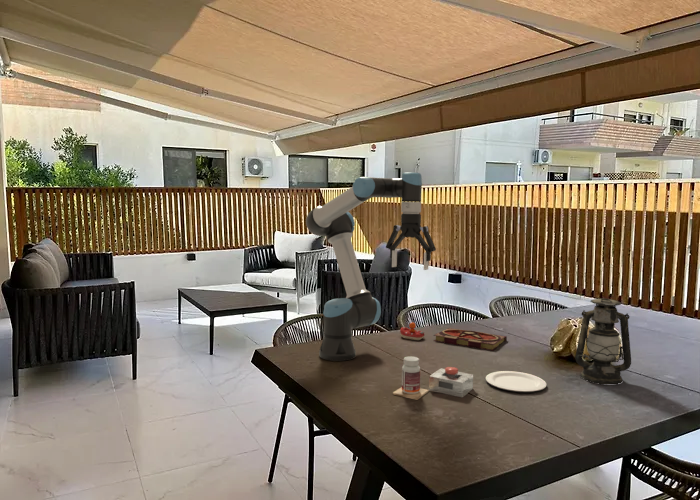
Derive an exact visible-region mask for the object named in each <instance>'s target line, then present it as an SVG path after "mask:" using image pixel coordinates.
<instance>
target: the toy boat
mask: <svg viewBox="0 0 700 500" xmlns="http://www.w3.org/2000/svg"><path fill="white" fill-rule="evenodd" d="M408 326H409V328H408V327H405V326H402V327H400V329H399V334H400V336H401V337H402V338H403V339H408V340H412V341H420V340H422V339H424V337H425V332H424V331H422V330H415V328H416V326H417V325H416V323H415V322H413V321H412V322H410V323H409V324H408Z"/></svg>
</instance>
